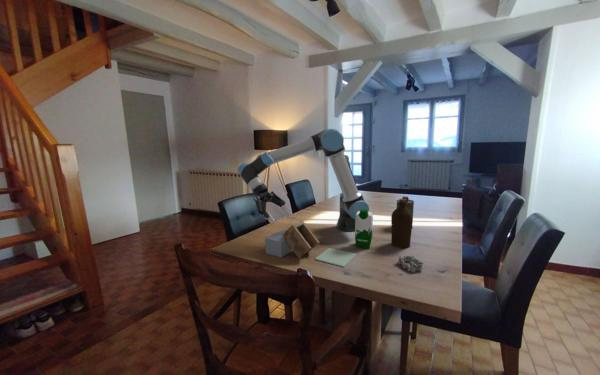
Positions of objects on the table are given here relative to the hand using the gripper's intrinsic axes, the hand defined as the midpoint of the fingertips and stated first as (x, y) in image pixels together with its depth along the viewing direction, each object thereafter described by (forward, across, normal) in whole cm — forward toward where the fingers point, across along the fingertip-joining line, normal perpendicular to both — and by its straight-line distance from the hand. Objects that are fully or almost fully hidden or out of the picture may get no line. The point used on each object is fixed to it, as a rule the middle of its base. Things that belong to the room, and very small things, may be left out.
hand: (281, 219), depth 137 cm
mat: (+31, -6, +8) cm, 33 cm away
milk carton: (+36, -27, +12) cm, 46 cm away
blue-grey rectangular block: (+12, 0, -12) cm, 16 cm away
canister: (+44, -69, +20) cm, 84 cm away
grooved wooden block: (+20, 0, -4) cm, 20 cm away
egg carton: (+54, -15, +30) cm, 64 cm away
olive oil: (+48, -38, +24) cm, 65 cm away
